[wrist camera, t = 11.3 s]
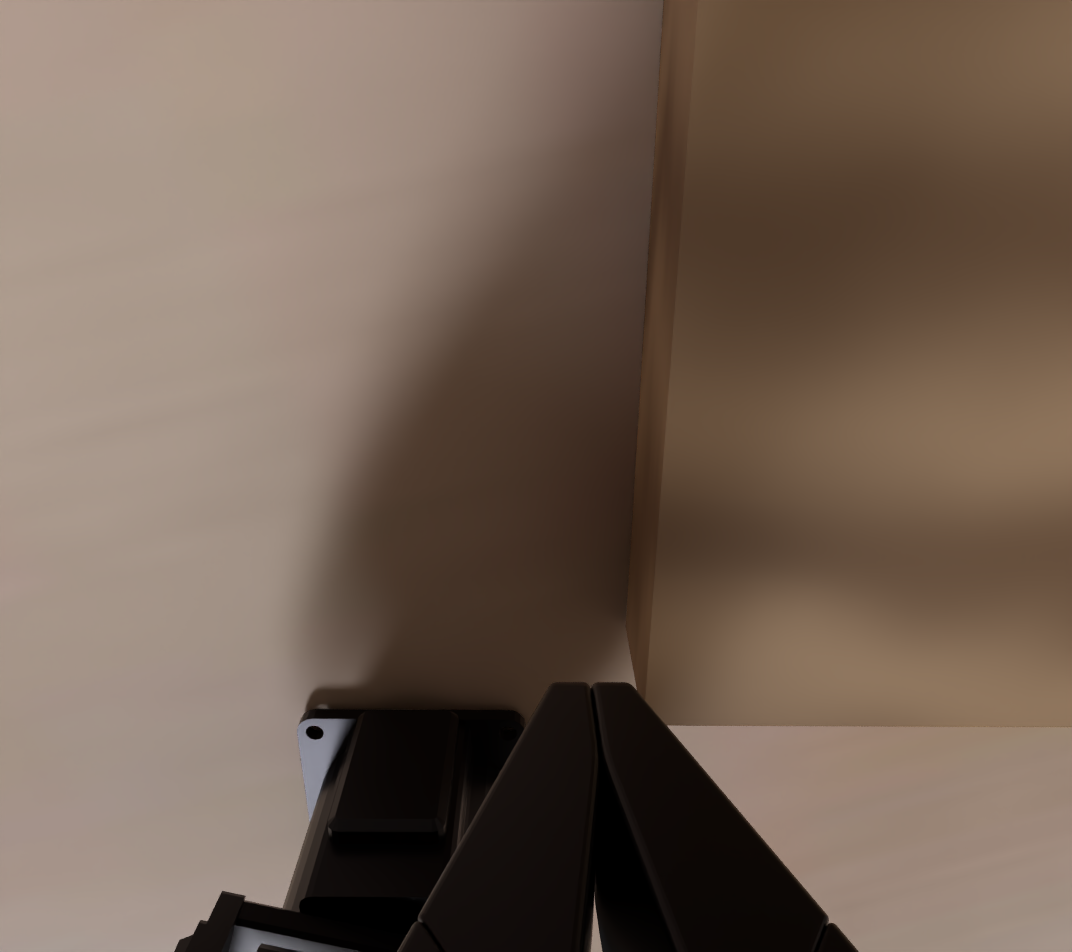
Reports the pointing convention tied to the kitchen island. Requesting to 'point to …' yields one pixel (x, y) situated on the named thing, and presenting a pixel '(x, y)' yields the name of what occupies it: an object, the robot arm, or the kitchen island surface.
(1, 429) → the kitchen island surface
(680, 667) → the walnut deck
